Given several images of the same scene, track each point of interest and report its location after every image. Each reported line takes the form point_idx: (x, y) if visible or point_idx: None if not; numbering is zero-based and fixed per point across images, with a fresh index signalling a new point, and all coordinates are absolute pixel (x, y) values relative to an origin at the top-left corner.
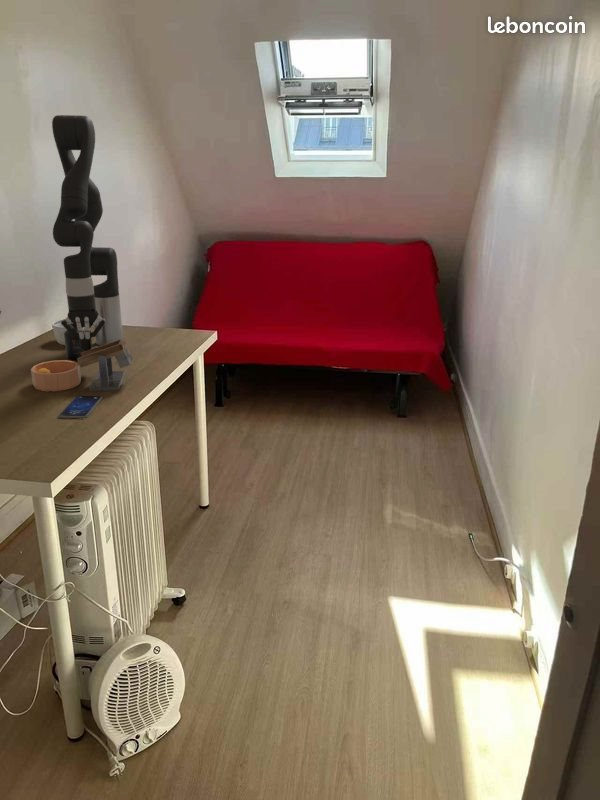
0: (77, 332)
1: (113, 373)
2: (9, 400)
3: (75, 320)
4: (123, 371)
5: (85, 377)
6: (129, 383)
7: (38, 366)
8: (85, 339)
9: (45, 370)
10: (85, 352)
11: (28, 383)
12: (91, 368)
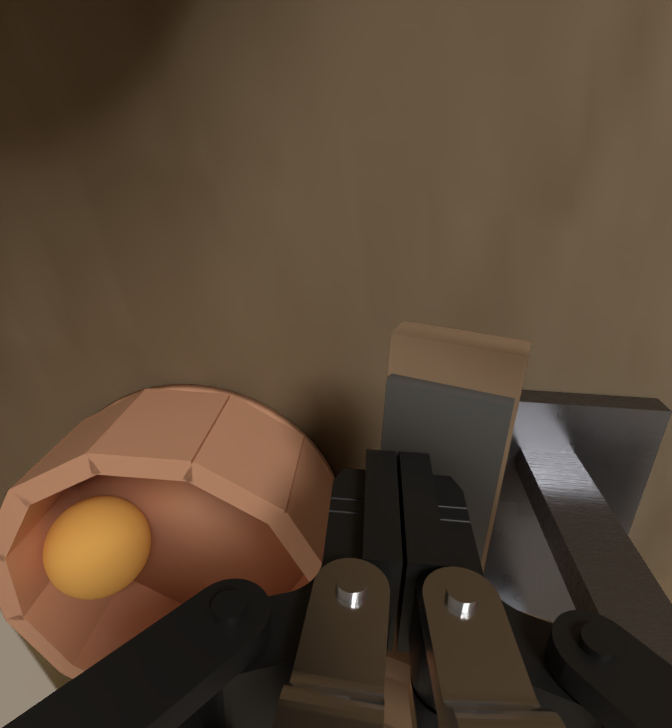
0: (254, 700)
1: (575, 454)
2: (50, 663)
3: None
4: (661, 422)
5: (361, 423)
6: (654, 569)
7: (17, 538)
8: (398, 648)
9: (102, 591)
10: (398, 672)
11: (23, 472)
12: (385, 209)
